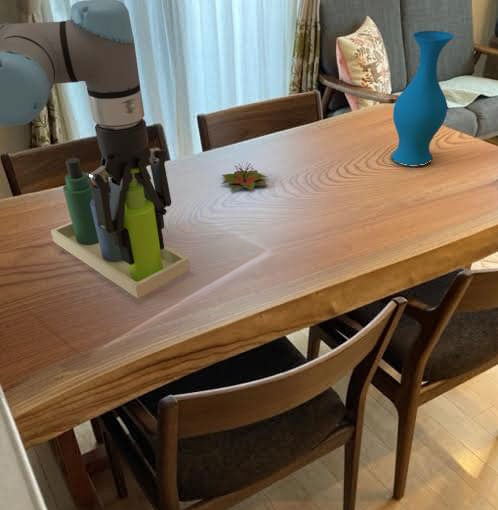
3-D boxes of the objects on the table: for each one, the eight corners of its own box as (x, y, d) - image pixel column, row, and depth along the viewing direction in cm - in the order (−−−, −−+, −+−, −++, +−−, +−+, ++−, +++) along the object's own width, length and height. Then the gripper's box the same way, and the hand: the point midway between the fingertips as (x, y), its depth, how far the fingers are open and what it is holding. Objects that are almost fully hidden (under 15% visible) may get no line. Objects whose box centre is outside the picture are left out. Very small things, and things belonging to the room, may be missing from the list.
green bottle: (71, 238, 107) (50, 161, 97) (95, 227, 110) (77, 151, 100) (86, 248, 104) (66, 169, 94) (110, 237, 107) (94, 159, 97)
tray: (54, 244, 107) (50, 230, 105) (103, 222, 113) (100, 209, 111) (138, 301, 91) (135, 286, 90) (190, 272, 98) (188, 258, 96)
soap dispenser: (122, 268, 98) (101, 163, 86) (160, 261, 100) (144, 157, 87) (127, 285, 94) (105, 178, 81) (166, 278, 95) (150, 171, 83)
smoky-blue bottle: (96, 254, 102) (77, 175, 92) (120, 243, 105) (105, 165, 95) (113, 265, 99) (95, 184, 89) (138, 253, 102) (123, 173, 92)
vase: (378, 163, 133) (395, 38, 115) (397, 146, 141) (416, 27, 123) (426, 174, 128) (451, 44, 110) (443, 155, 136) (469, 32, 118)
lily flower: (261, 169, 132) (261, 150, 129) (277, 189, 123) (277, 170, 120) (213, 176, 129) (212, 157, 126) (226, 197, 120) (225, 178, 118)
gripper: (78, 145, 73) (110, 285, 87) (184, 110, 83) (197, 240, 98) (49, 132, 77) (85, 267, 92) (154, 100, 87) (171, 226, 102)
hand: (143, 253), depth 95 cm, fingers closed on soap dispenser, 6 cm apart
